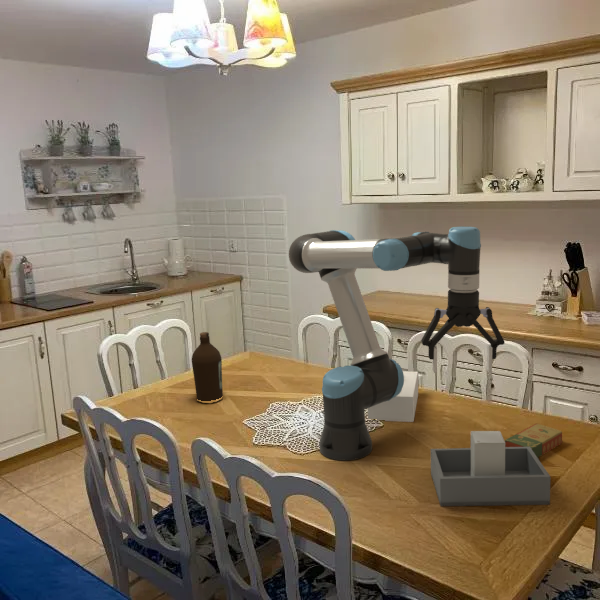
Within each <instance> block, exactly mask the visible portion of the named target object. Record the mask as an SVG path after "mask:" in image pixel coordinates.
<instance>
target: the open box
mask: <svg viewBox="0 0 600 600" xmlns="http://www.w3.org/2000/svg"><path fill="white" fill-rule="evenodd" d="M430 475H431V479H432V482H433V486H434V489H435V491H436V496H437V498H438V502H439V505H440V507H474V506H477V507H478V506H481V507H482V506H483V507H485V506H486V507H488V506H489V507H490V506H533V505H534V506H535V505H536V506H537V505H538V506H539V505H540V506H541V505H543V506H546V505H547V506H548V505H551V475H550V474H549V472H548V471H547V470H546V468H545V466H544V465H543V463H542V462H541V461H540V459H539V457H538V458H537V456H536V455H535V454H534V452H533V451H532V449H531V448H530V447H505V475H503V476H471V447H458V448H457V447H456V448H455V447H454V448H430Z"/></svg>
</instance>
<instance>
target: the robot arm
mask: <svg viewBox="0 0 600 600" xmlns="http://www.w3.org/2000/svg"><path fill="white" fill-rule="evenodd" d="M481 247H482V244H481V231H480V228H478V227H476V226H453V227H450V228H449V230H448V233H447V234H446V233H438V232H437V233H436V232H429V231H421V232H420V231H418V232H414V233H412V234H411V235H410V236H405V237H404V236H403V237H394V238H393V237H391V238H377V239H375V238H374V239H373V238H372V239H371V238H370V239H369V238H368V239H355V237H354V236H353V235H352V234H351V233H349V232H348V231H346V230H341V229H340V230H339V229H338V230H335V229H334V230H333V229H332V230H329V231H323V232H314V233H307V234H303V235H300V236H298V237H297V238H295V239H294V240H293V241H292V243H291V245H290V246H289V248H288V249H289V250H288V259H289V262H290V264H291V266H292V267H293V268H294V269H295V270H296V271H298V272H301V273H305V274H314V273H318V274H319V277H320V279H321V281H323V282H324V283H326V284H327V285H328V288H329V292H330V293H331V297H332V300H333V302H334V305H335V308H336V311H337V314H338V317H339V320H340V323H341V325H342V328H343V332H344V334H345V337H346V341H347V343H348V346H349V349H350V352H351V356H352V360H351V363H350V365H344V366H341V365H340V366H337V367H335V368H331V369H330V370H328V371H327V372H326V373H325V374H324V375H323V378H322V388H321V392H322V401H323V403H322V404H323V422H324V424H323V428H322V432H321V436H320V438H319V444H318V445H319V452H320V453H322V454H323V455H322V454H321V455H322V456H323V457H325V458H328V459H331V460H335V461H336V460H337V461H354V460H359V459H362V458H364V457H367V456H368V455H370V453H371V452H372V450H373V441H372V438H371V436H370V433H369V430H368V426H367V424H366V414H365V413H366V411H365V409H366V410H367V408H369V407H372V406H374V405H377V404H380V403H382V402H386V401H389V400H391V399H392V398H394V397H396V396H397V395H398V394H399V393H400V392H401V390H402V387H403V385H404V375H403V372H404V371H403V368H402V367H401V365H400V364H399V363H398V362H397V360H395V359H392V358H390V356H389V354H388V351H386V350H383V349H382V348H381V346H380V343H379V340H378V338H377V334H376V331H375V329H374V326H373V323H372V321H371V317H370V315H369V312H368V309H367V306H366V304H365V300H364V298H363V294H362V292H361V289H360V286H359V284H358V281H357V277H356V275H355V274H356V272H357V269H379V270H381V271H384V272H391V271H393V272H395V271H399V270H400V269H402V270H403V269H405V268H410V267H416V266H421V265H426V264H442V265H448V267H447V270H448V272H447V273H448V275H447V287H448V289H449V290H448V291H447V308H446V309H440V308H439V307H435V308H434V312H433V313H434V314H433V318H432V319H431V321H430V323H429V325H428V327H427V328H426V330H425V332H424V334H423V335H422V338H421V340H420V341H421V344H422V346H426V347H427V348H428V353H427V355H428V358H429V360H432V371H433V374H437V373H438V347H437V344H438V343H439V342H440V341H441V340H442V339H443V338H444V336H446V334H447V333H448V332H449V331H450V330H452V329H453V327H454V326H455V327H456V328H461V327H466V328H470V327H472V326H474V327H475V328H476V329H477V331H478V332H479V333H480V334H481V335H482V337H484V339H485V340H487V342H488V343H489V344H486V368H485V369H486V371H487V372H488V373H489V374H490V373H492V370H493V360H496V359H497V351H498V350H497V348H498V346H500V345H501V346H502V345H505V340H504V338H503V335H502V334H501V332H500V329H499V328H498V326H497V323H496V321H495V320H494V317H493V311H492V309H491V308H490V307H488V306H486V307H485V308H480V306H479V305H480V291H479V290H478V289H480V265H481V264H480V260H481V250H482V249H481ZM445 315H446V317H448V318H447V320H446V321H445V323H444V324H443V325H442V326H441V327H440V328H439V330H438V331H437V332H436V333H435V334H434V336H432V335H433V333H434V332H435V330H436V328H437V326H438V324H439V322H440V319H443V317H444V316H445ZM481 315H483V317H484V318H486V320H487V322H488V324H489V327H490V329H491V330H492V333H493V334H494V336H495V339H494V338H492V336H491V335H490V334H489V333H488V332H487V331H486V329H485V328H484V327H483V326H482V325H481V324H480V322H479V321H478V319H479V317H480V316H481Z"/></svg>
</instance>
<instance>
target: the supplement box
mask: <svg viewBox="0 0 600 600" xmlns="http://www.w3.org/2000/svg"><path fill="white" fill-rule="evenodd" d="M470 448H471V476H503V475H505V439H504V437H503V434H502V432H501V431H500V430H471V431H470Z"/></svg>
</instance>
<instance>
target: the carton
mask: <svg viewBox="0 0 600 600" xmlns="http://www.w3.org/2000/svg"><path fill="white" fill-rule="evenodd" d="M504 441H505V447H530V448H531V449H532V451H533V452H534V454H535V455H536V456H537V458H538V459H539V456H540V457H541V456H543V455H545V454H546V452H547V453H548V452H550V451H552V450H554V449H555V448H556V446H557V447H558V445H559V444H560V445H562V444H563V431H562V430H560V429H557V428H553V427H550V426H546V425H543V424H539V423H534V424H532V425H530V426H529V427H527V428H525V429H524V430H521V431H520V432H517V433H516V434H514V435H512V436H510V437H508V438H506V439H504ZM561 443H562V444H561ZM560 445H559V446H560ZM554 447H555V448H554ZM553 448H554V449H553ZM551 449H552V450H551ZM544 453H545V454H544Z"/></svg>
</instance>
